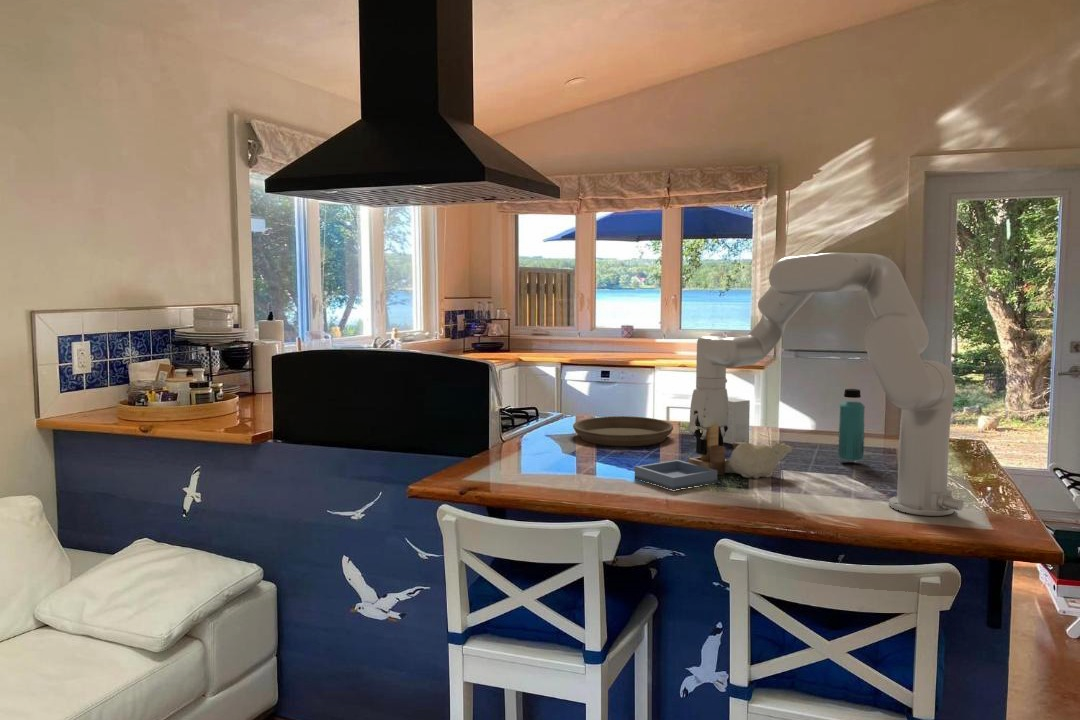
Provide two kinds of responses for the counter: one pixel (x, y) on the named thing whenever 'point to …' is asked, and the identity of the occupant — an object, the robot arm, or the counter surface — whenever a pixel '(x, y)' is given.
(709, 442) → the dowel
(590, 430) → the plant saucer
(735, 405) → the small box
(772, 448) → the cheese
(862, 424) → the beverage bottle
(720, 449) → the peg
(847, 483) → the counter surface
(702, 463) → the dowel socket
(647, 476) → the tray
